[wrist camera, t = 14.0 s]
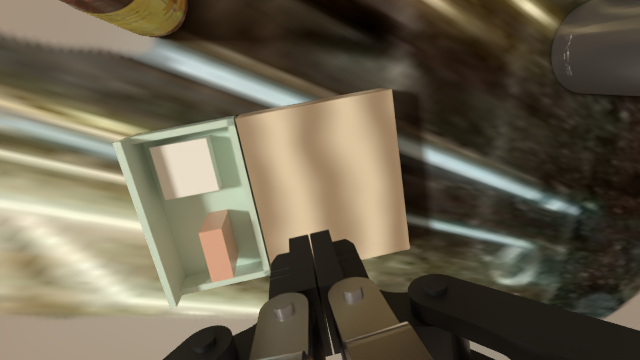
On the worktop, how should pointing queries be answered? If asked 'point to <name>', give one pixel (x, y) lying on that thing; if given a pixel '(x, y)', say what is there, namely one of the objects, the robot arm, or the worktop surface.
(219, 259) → the terracotta tile
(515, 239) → the worktop surface
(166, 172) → the white tile
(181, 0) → the sauce bottle
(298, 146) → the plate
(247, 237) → the box
